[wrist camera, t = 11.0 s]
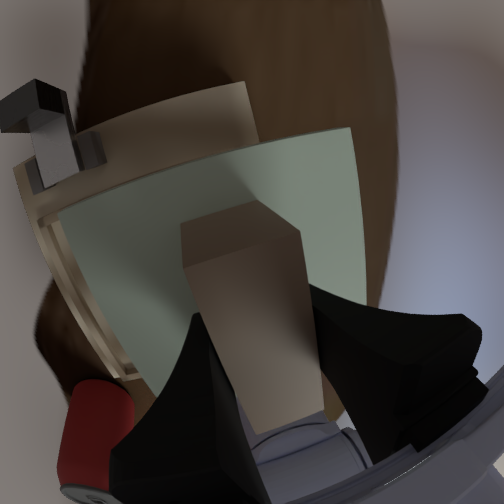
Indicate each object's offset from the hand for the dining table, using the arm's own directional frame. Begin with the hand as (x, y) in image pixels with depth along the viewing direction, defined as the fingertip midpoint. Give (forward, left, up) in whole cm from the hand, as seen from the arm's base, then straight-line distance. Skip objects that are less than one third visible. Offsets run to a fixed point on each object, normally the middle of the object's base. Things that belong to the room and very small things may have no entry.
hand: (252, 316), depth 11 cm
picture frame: (+1, +4, -10) cm, 11 cm away
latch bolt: (+10, +8, -7) cm, 14 cm away
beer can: (-12, +16, -11) cm, 23 cm away
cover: (0, 0, -2) cm, 2 cm away
